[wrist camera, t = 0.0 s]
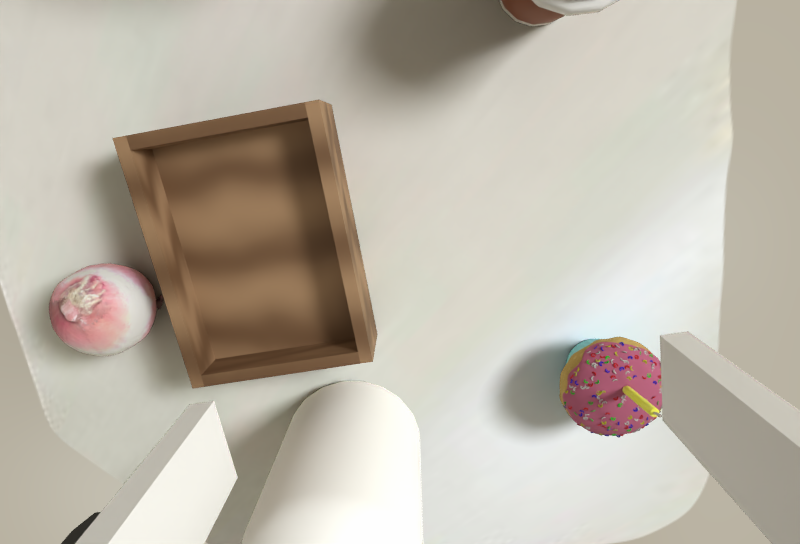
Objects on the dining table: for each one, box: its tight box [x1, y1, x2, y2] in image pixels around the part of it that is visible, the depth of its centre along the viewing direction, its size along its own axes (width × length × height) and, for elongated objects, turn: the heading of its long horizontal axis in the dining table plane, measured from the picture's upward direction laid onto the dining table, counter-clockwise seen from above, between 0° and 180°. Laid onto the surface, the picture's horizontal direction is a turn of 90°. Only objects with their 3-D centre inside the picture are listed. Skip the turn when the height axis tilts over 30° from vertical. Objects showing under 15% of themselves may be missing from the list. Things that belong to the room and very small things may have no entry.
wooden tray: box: [113, 100, 377, 388], centre depth 39 cm, size 20×15×6 cm
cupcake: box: [560, 337, 662, 437], centre depth 38 cm, size 9×8×12 cm
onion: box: [49, 264, 164, 356], centre depth 40 cm, size 8×8×7 cm
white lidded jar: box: [241, 381, 423, 544], centre depth 37 cm, size 12×12×20 cm
